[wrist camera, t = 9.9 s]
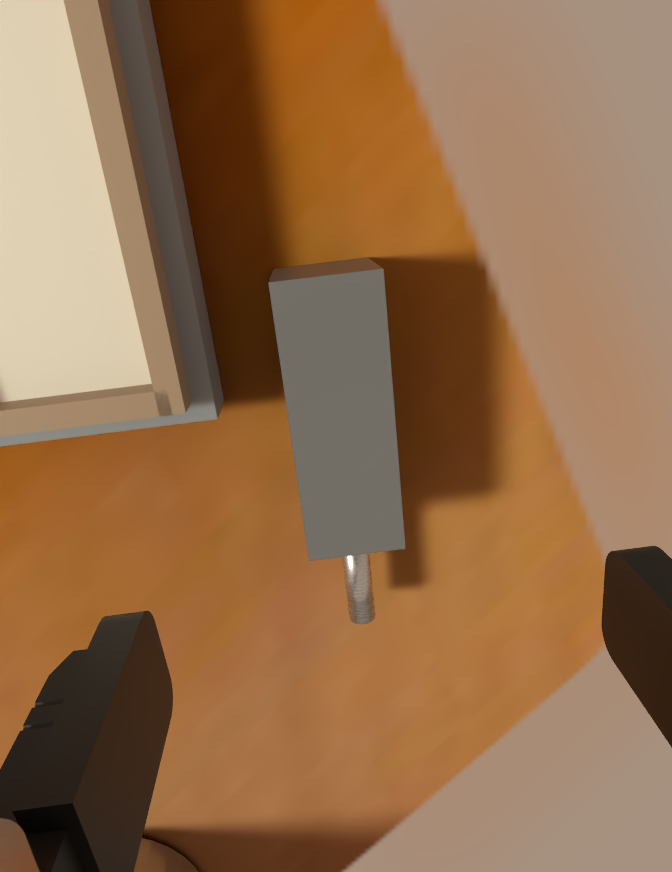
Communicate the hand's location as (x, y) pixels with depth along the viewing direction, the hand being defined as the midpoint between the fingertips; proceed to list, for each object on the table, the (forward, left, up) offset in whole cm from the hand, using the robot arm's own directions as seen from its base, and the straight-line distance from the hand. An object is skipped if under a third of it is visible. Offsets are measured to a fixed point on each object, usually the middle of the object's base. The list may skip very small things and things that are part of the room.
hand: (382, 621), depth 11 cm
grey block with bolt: (-1, 0, -12) cm, 12 cm away
